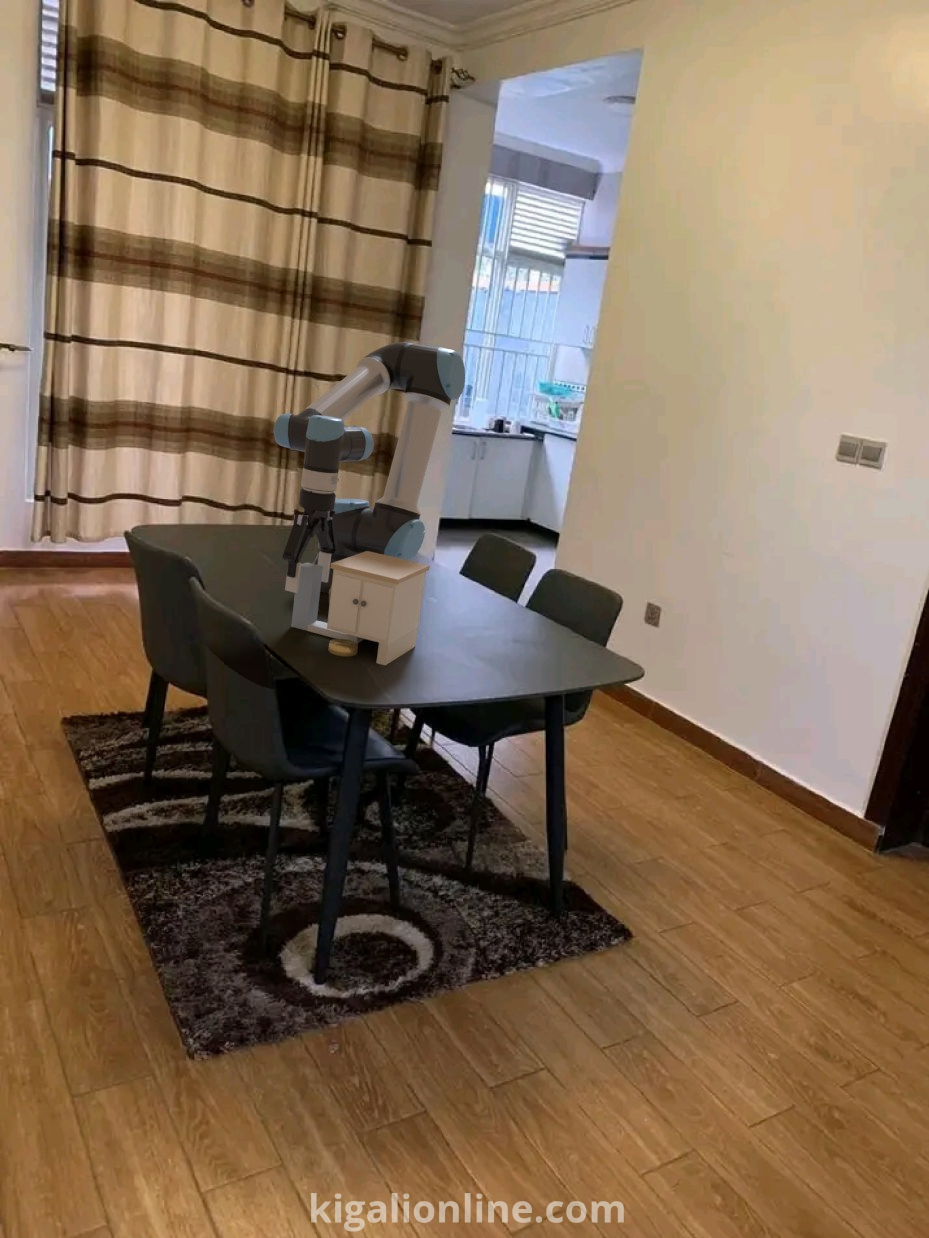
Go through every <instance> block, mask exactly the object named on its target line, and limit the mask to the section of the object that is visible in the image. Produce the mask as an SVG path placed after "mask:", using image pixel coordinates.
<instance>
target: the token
mask: <svg viewBox="0 0 929 1238" xmlns="http://www.w3.org/2000/svg"><path fill="white" fill-rule="evenodd" d="M358 647H359V643H356V642H354V641H351V640H347V639H336V638H332V639H331V640H329V643H328V652H329V653H330V654H332V655H334V656H338V657H345V658H347V657H355V656H357V654H358V649H359V648H358Z"/></svg>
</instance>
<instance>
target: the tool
mask: <svg viewBox="0 0 929 1238" xmlns="http://www.w3.org/2000/svg"><path fill="white" fill-rule="evenodd" d="M322 570H323V566H320V565H316V564H314V563H312V562H304V563H301V570H300V579H299V588H298V593H294V598H293V607H292V615H291V616H292V617H291V625H290V626H291V628H296V629H299V630H302V631H307V632H311V633H315V634H317V635H322V636H325V637H329V638H332V639H347V640H351V641H354V642H356V643H357V644H359V643H361V642H362V641H365V640H366V639H364V638H360V637H357V636H353V635H349V634H345V633H341V632H338V631H334V630H330V629H327V623H328V622H325V621H321V620H318V612H319V605H320V603H319V602H320V596H321V595H320V594H321V592H320V588H321V579H322Z"/></svg>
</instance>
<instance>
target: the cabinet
mask: <svg viewBox="0 0 929 1238" xmlns="http://www.w3.org/2000/svg"><path fill="white" fill-rule="evenodd" d="M430 566H431V565H430V564H425V563H420V562H417V561H412V560H410V561H408V560H404V559H400V558H395V557H391V556H387V555H383V554H378V553H374V552H370V551H365V552H362V553H360V554H357V555H354V556H351V557H348V558H345V559H342V560H339V561H336V562H334V563H331V568H332V569H334V571H333V580H332V588H331V597H330V605H329V606H328V617H327V622H326V623H327V629H330V630H334V631H338V632H341V633H345V634H349V635H353V636H357V637H360V638H364V639H365V640H368V641H371V642H375V643H378V648H377V657H376V664H379V665H381V666H387V665H389V664H390V663H392V662H393V661H395V660H396V659H398V658H399V657H401V656H403V655H404V654H406V653H407V652H409V651H410V650H412V649H413V648H415V647H416V643H417V637H418V629H419V623H420V616H421V609H422V601H423V596H424V589H425V588H424V587H425V581H426V575H427V572H428V571H430Z"/></svg>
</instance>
